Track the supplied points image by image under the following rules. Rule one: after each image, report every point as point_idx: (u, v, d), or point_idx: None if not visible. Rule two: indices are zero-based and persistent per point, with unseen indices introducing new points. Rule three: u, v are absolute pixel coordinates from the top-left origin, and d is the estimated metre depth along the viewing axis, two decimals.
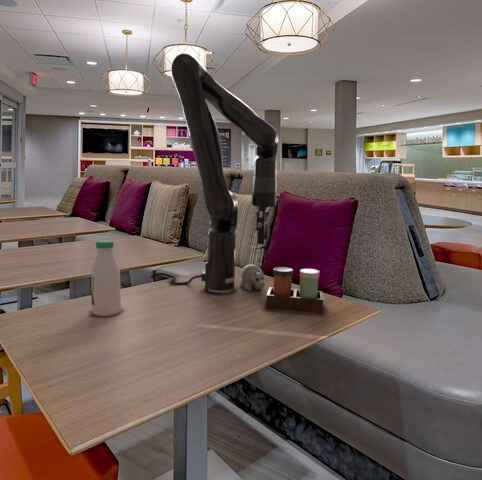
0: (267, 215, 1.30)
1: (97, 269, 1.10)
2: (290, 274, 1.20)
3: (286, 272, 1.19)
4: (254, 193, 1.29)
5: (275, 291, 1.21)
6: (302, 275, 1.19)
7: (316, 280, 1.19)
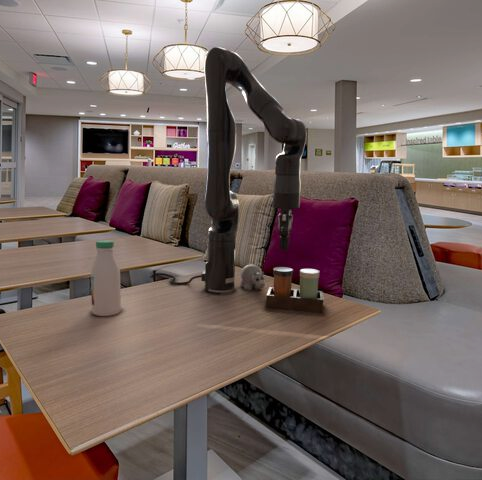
0: (290, 218, 1.17)
1: (97, 269, 1.10)
2: (290, 274, 1.20)
3: (286, 272, 1.19)
4: (276, 194, 1.16)
5: (275, 291, 1.21)
6: (302, 275, 1.19)
7: (316, 280, 1.19)
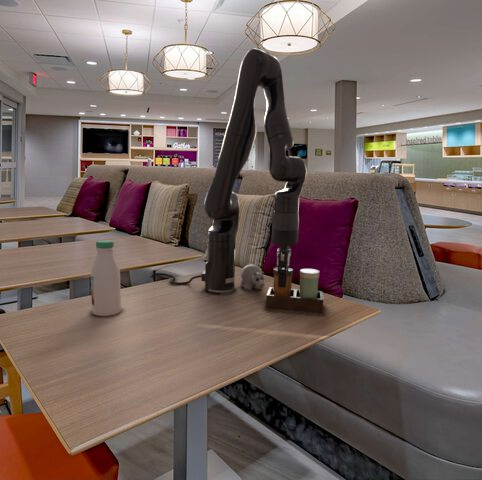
0: (289, 255, 1.19)
1: (97, 269, 1.10)
2: (290, 274, 1.20)
3: None
4: (274, 230, 1.18)
5: (275, 291, 1.21)
6: (302, 275, 1.19)
7: (316, 280, 1.19)
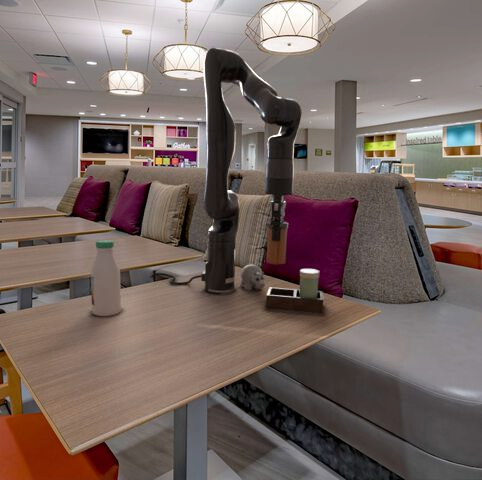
0: (283, 206, 1.10)
1: (97, 269, 1.10)
2: (285, 227, 1.11)
3: None
4: (268, 179, 1.09)
5: (269, 246, 1.13)
6: (302, 275, 1.19)
7: (316, 280, 1.19)
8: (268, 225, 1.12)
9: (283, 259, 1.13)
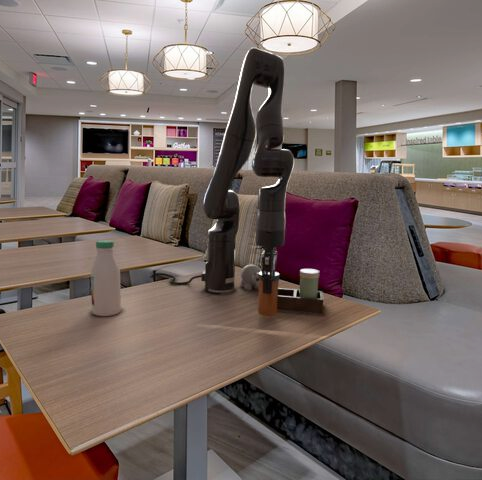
0: (274, 258, 1.07)
1: (97, 269, 1.10)
2: (276, 279, 1.09)
3: None
4: (258, 231, 1.07)
5: (260, 298, 1.10)
6: (302, 275, 1.19)
7: (316, 280, 1.19)
8: (259, 276, 1.10)
9: (274, 311, 1.10)
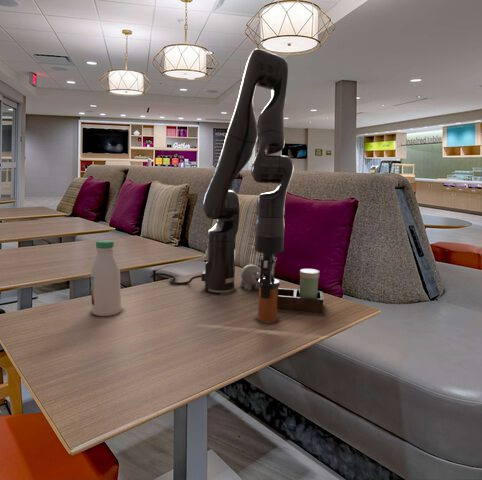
0: (273, 263, 1.07)
1: (97, 269, 1.10)
2: (276, 286, 1.09)
3: (272, 284, 1.08)
4: (257, 237, 1.07)
5: (260, 305, 1.11)
6: (302, 275, 1.19)
7: (316, 280, 1.19)
8: (259, 284, 1.10)
9: (274, 318, 1.11)
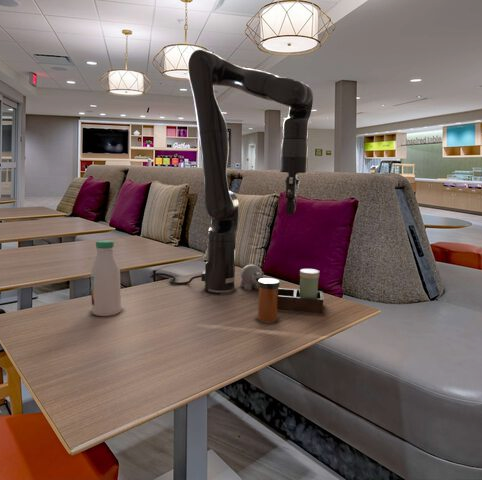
0: (297, 182, 1.17)
1: (97, 269, 1.10)
2: (276, 286, 1.09)
3: (272, 284, 1.08)
4: (283, 158, 1.17)
5: (260, 305, 1.11)
6: (302, 275, 1.19)
7: (316, 280, 1.19)
8: (259, 284, 1.10)
9: (274, 318, 1.11)
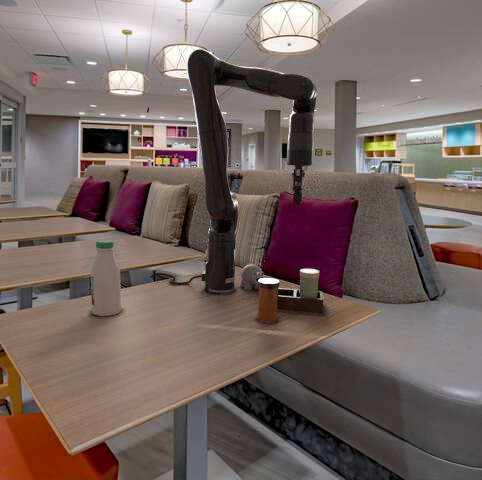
0: (303, 175, 1.22)
1: (97, 269, 1.10)
2: (276, 286, 1.09)
3: (272, 284, 1.08)
4: (290, 151, 1.21)
5: (260, 305, 1.11)
6: (302, 275, 1.19)
7: (316, 280, 1.19)
8: (259, 284, 1.10)
9: (274, 318, 1.11)
